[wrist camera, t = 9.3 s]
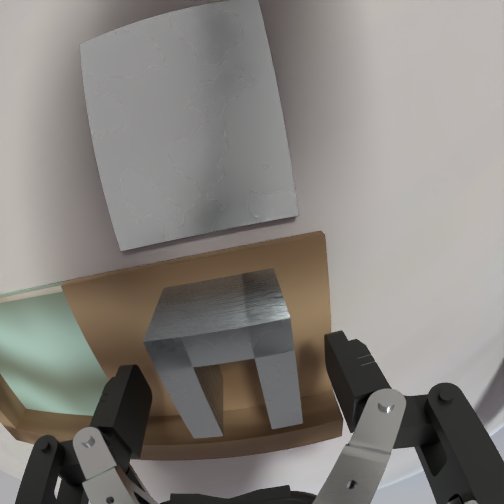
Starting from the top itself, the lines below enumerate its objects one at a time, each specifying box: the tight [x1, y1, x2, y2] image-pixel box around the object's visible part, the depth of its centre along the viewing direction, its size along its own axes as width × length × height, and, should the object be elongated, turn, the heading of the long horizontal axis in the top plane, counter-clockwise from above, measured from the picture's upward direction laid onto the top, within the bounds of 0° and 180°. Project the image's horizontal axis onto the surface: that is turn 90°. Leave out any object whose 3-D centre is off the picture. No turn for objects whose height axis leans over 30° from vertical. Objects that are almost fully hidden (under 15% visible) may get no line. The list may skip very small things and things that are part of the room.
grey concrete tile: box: [80, 0, 299, 251], centre depth 11 cm, size 10×8×1 cm
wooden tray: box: [0, 231, 343, 460], centre depth 14 cm, size 12×26×3 cm, turn 100°
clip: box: [143, 268, 303, 438], centre depth 12 cm, size 6×5×4 cm
